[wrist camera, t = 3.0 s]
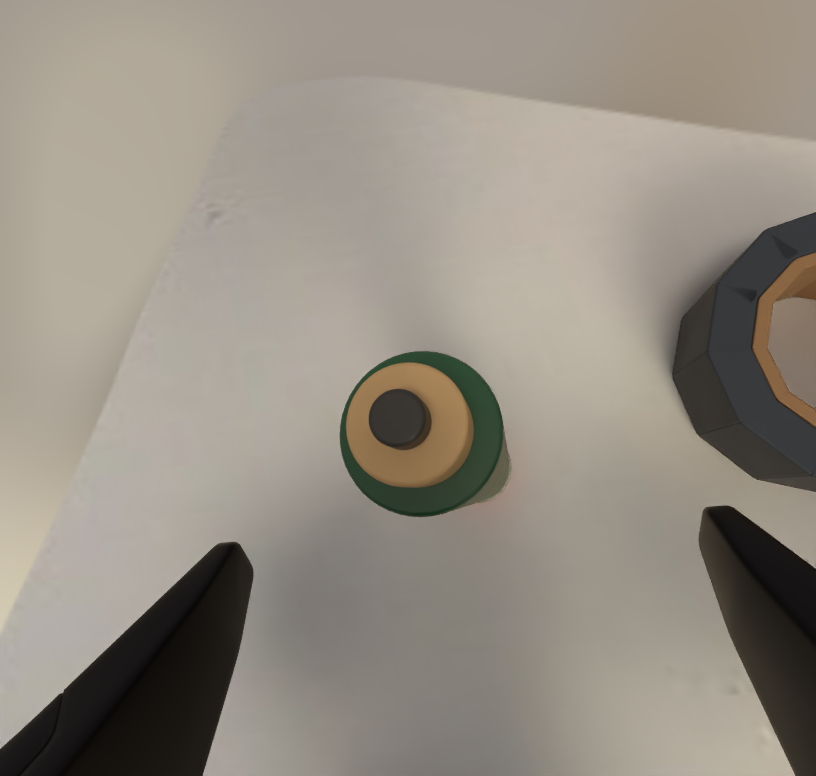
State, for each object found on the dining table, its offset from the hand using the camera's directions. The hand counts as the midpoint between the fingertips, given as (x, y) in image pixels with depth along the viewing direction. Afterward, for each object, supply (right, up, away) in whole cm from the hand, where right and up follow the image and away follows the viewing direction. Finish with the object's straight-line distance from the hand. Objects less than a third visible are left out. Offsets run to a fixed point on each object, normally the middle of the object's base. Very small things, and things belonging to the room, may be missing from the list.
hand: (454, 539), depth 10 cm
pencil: (+2, 0, +10) cm, 10 cm away
